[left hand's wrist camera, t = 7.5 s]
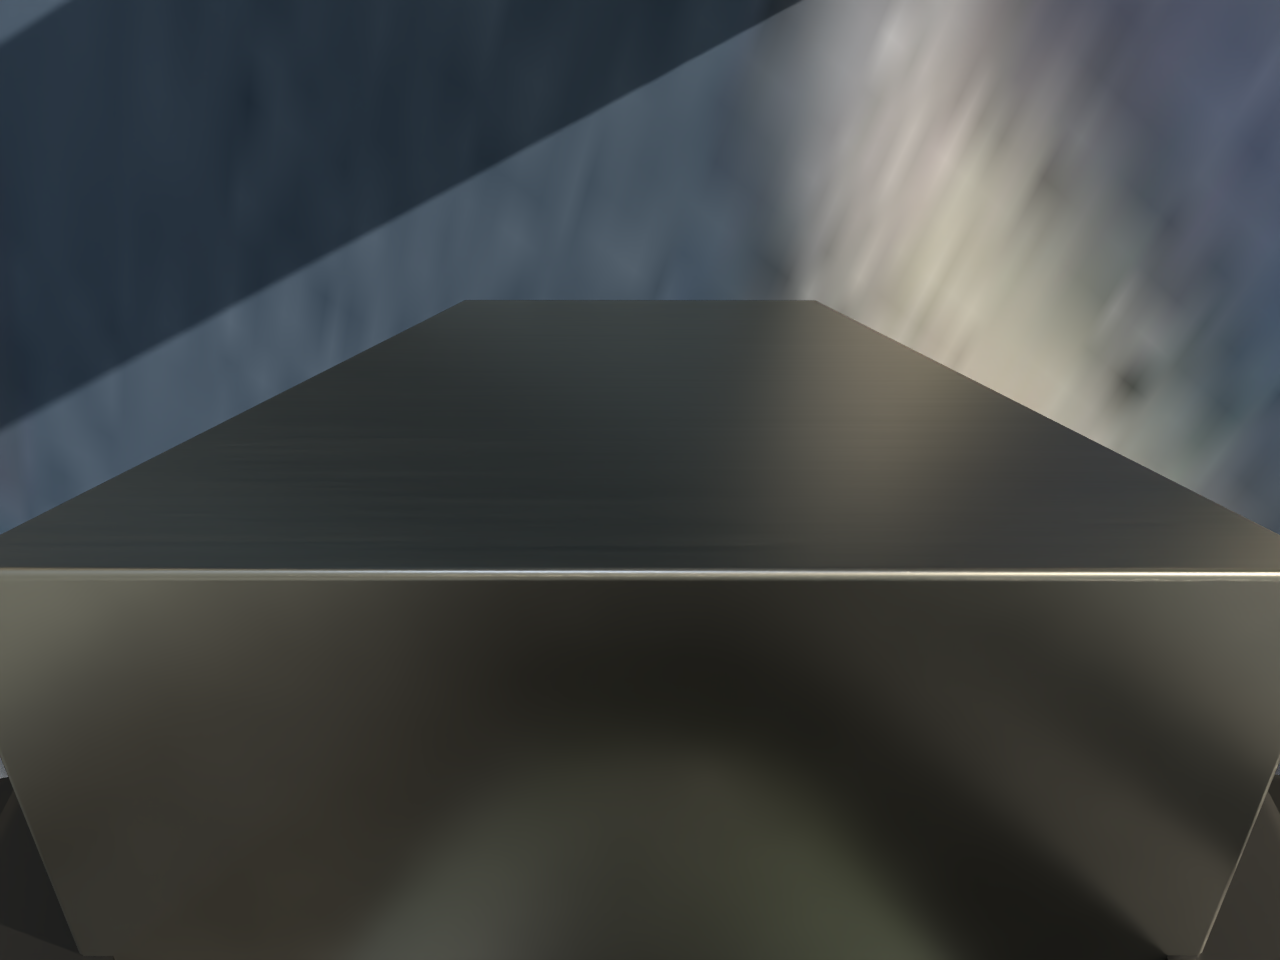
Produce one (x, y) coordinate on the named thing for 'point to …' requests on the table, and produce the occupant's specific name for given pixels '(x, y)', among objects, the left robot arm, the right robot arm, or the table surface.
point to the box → (640, 662)
